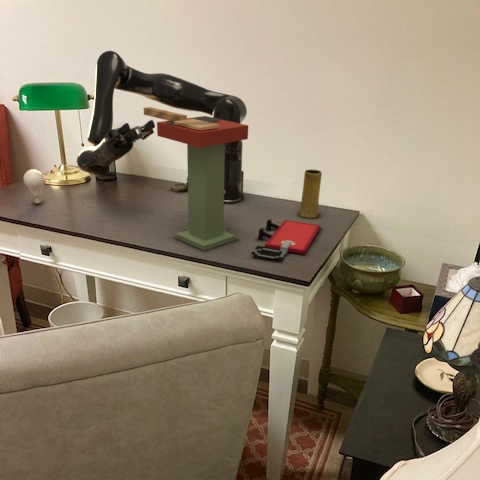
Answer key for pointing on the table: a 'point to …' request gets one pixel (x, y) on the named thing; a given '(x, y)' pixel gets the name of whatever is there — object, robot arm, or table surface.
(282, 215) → the table surface
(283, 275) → the table surface
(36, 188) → the lightbulb
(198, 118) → the pedestal side table
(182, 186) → the compass
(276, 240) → the red board with handle
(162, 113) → the spatula
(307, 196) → the vase
